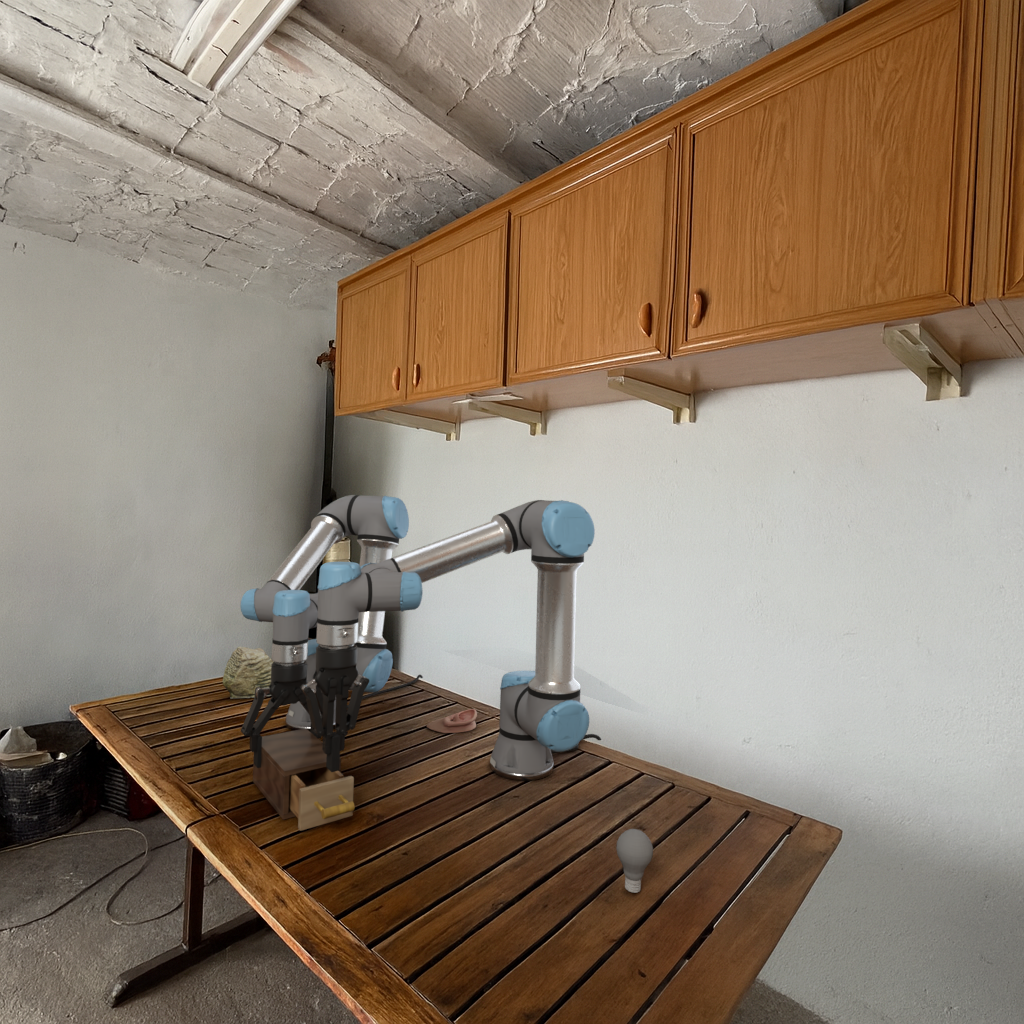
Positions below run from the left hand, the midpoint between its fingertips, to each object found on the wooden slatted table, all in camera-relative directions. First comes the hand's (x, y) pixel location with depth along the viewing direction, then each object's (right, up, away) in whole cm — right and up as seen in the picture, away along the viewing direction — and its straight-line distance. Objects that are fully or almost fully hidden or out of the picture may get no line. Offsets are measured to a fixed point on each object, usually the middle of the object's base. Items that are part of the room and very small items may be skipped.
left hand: (286, 759), depth 140 cm
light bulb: (+70, -9, -34) cm, 78 cm away
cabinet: (+3, -5, -5) cm, 8 cm away
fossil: (-31, -3, +58) cm, 66 cm away
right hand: (+16, +6, -20) cm, 26 cm away
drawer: (+10, -5, -13) cm, 18 cm away
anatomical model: (+33, -6, +38) cm, 51 cm away
